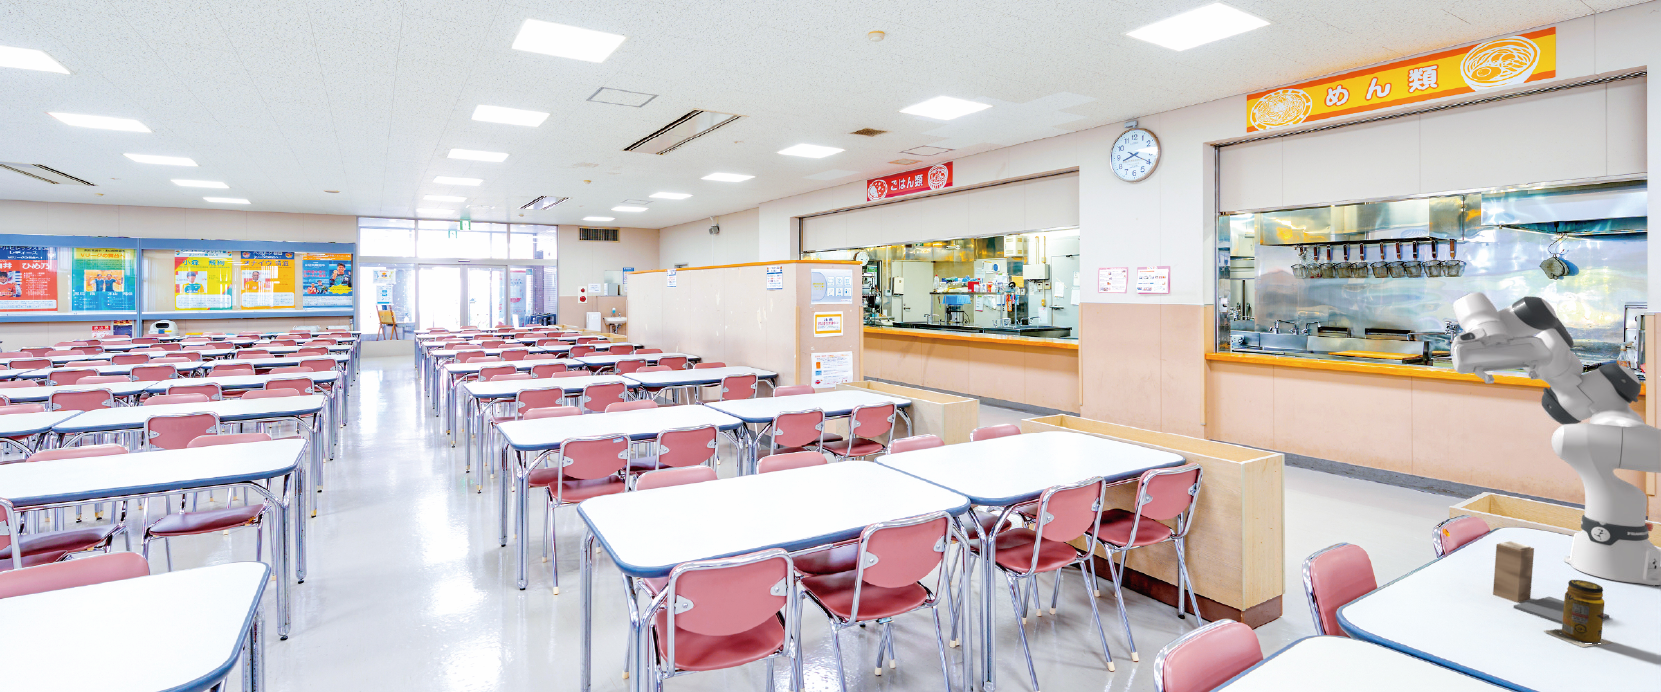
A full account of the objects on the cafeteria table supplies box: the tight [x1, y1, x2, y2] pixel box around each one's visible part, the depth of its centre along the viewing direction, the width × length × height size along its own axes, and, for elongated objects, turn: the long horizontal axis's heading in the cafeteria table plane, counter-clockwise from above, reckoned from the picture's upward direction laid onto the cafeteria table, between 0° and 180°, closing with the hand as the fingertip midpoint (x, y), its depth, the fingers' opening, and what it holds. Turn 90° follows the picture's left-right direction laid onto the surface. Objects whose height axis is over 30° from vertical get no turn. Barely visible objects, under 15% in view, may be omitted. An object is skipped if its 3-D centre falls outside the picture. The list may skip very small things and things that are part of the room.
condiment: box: [1543, 579, 1613, 648], centre depth 162 cm, size 7×8×12 cm
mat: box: [1513, 596, 1610, 625], centre depth 174 cm, size 14×11×1 cm
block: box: [1492, 540, 1535, 604], centre depth 183 cm, size 5×5×13 cm
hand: (1513, 380), depth 196 cm, fingers open, 8 cm apart
